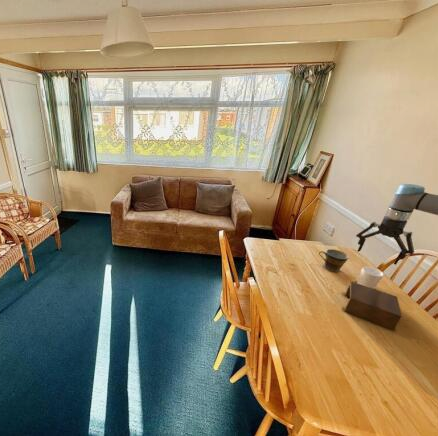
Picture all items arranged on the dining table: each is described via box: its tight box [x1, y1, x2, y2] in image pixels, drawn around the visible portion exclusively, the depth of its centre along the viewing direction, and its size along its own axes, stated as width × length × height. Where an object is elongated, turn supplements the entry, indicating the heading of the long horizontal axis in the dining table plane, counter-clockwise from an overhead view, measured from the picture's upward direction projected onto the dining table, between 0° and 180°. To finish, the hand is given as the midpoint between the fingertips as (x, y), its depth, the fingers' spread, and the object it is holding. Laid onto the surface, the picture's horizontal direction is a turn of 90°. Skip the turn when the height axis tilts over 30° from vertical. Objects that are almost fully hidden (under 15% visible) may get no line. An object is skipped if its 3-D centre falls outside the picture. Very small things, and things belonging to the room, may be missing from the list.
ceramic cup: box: [318, 248, 349, 273], centre depth 131 cm, size 13×10×10 cm
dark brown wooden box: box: [343, 281, 403, 331], centre depth 103 cm, size 16×14×8 cm
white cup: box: [356, 266, 384, 290], centre depth 116 cm, size 8×8×10 cm
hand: (376, 256), depth 113 cm, fingers open, 13 cm apart
